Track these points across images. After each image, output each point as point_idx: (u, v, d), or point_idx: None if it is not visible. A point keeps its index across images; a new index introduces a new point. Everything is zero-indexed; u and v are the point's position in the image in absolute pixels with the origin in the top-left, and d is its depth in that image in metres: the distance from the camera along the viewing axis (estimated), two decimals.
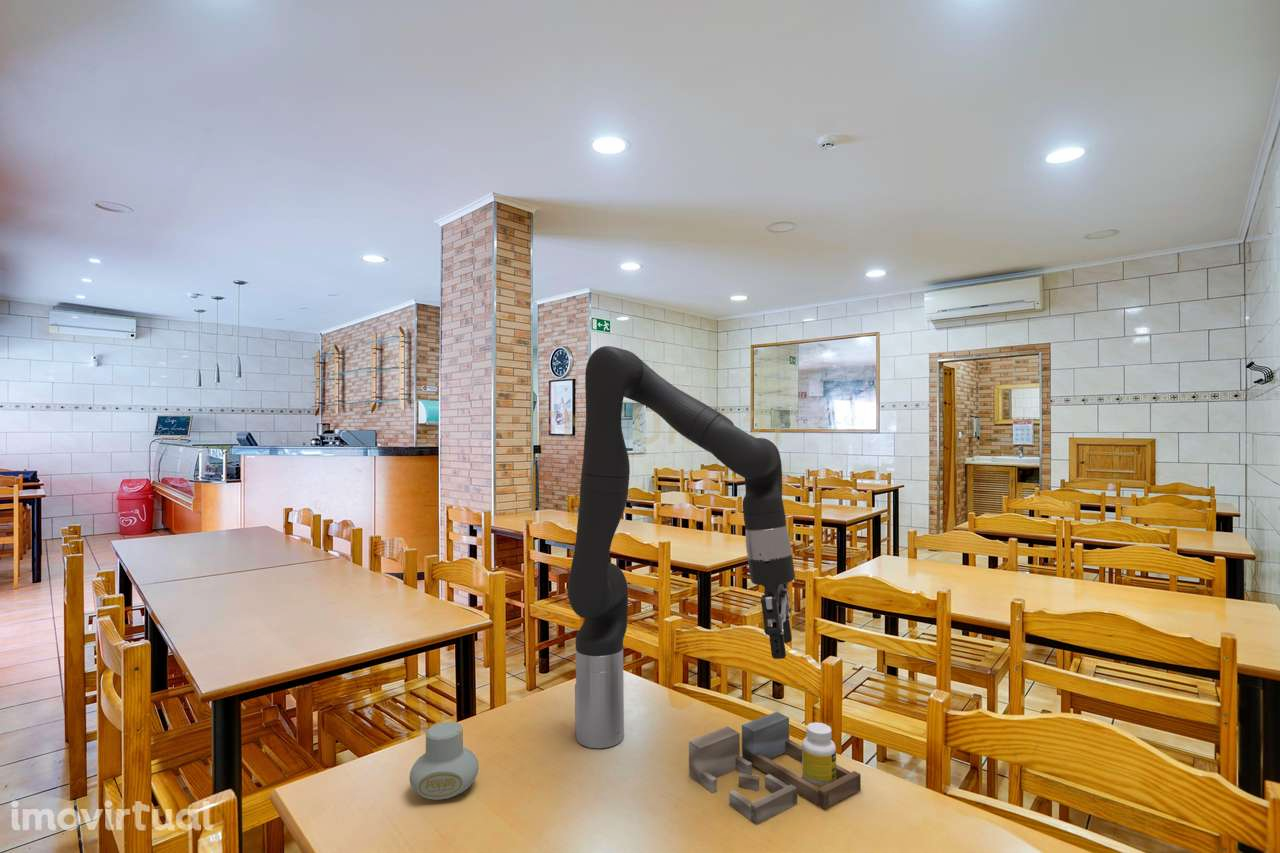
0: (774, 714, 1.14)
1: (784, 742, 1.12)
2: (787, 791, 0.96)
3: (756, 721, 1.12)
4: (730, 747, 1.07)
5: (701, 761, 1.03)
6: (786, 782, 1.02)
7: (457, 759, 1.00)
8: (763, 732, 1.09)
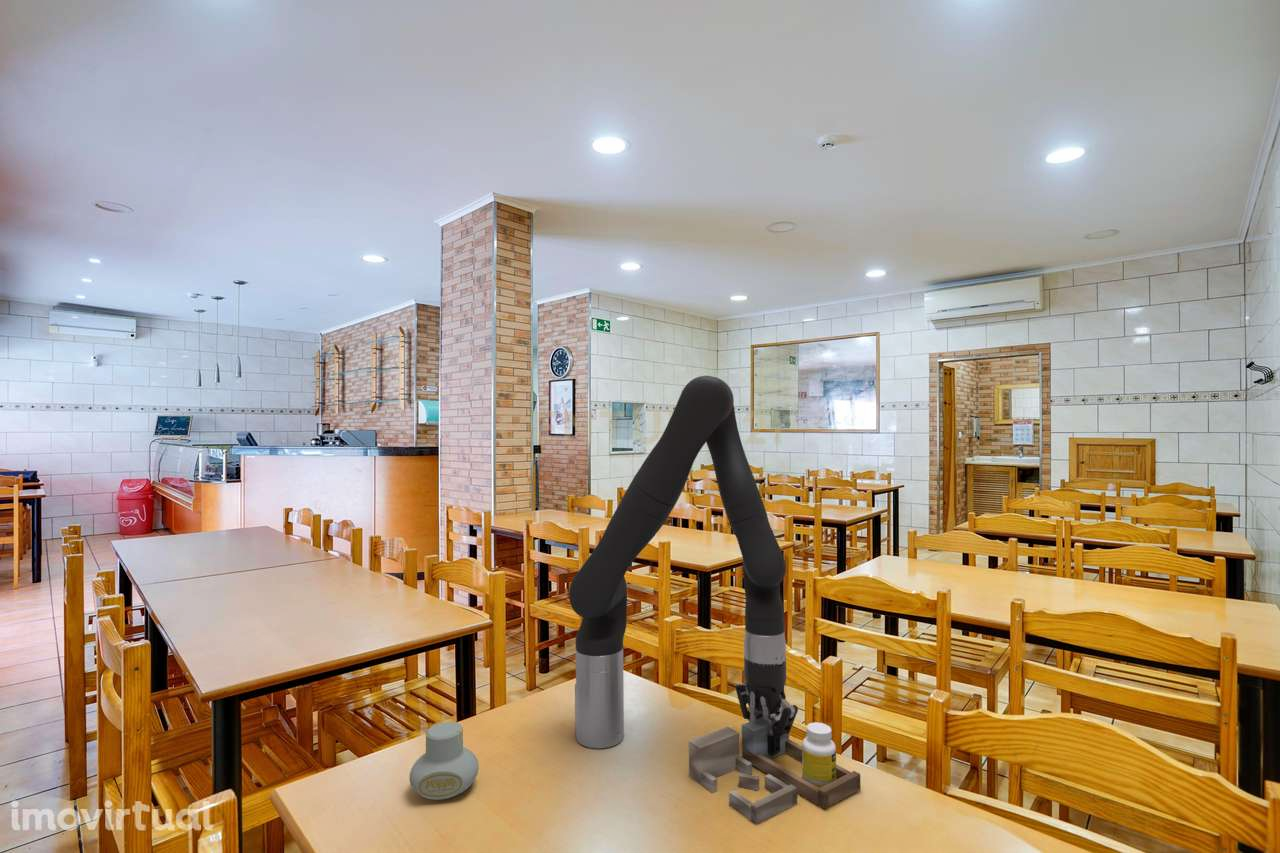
0: None
1: (784, 742, 1.12)
2: (787, 791, 0.96)
3: (756, 721, 1.12)
4: (730, 747, 1.07)
5: (701, 761, 1.03)
6: (786, 782, 1.02)
7: (457, 759, 1.00)
8: (763, 732, 1.09)
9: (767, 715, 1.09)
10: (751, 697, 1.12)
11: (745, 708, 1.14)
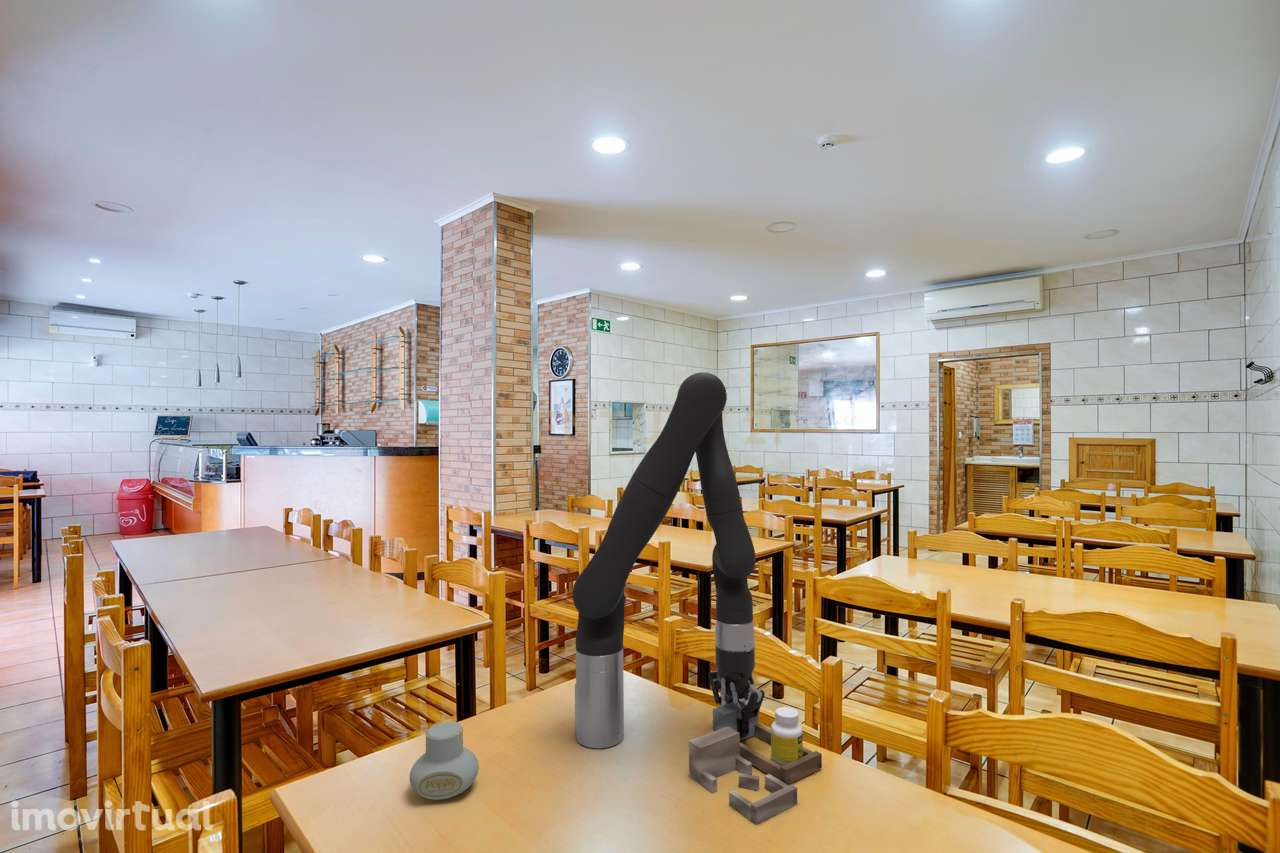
0: None
1: (753, 725, 1.19)
2: (787, 791, 0.96)
3: (727, 705, 1.18)
4: (730, 747, 1.07)
5: (701, 761, 1.03)
6: (752, 761, 1.08)
7: (457, 759, 1.00)
8: (732, 716, 1.16)
9: (736, 699, 1.15)
10: (722, 683, 1.18)
11: (717, 694, 1.21)
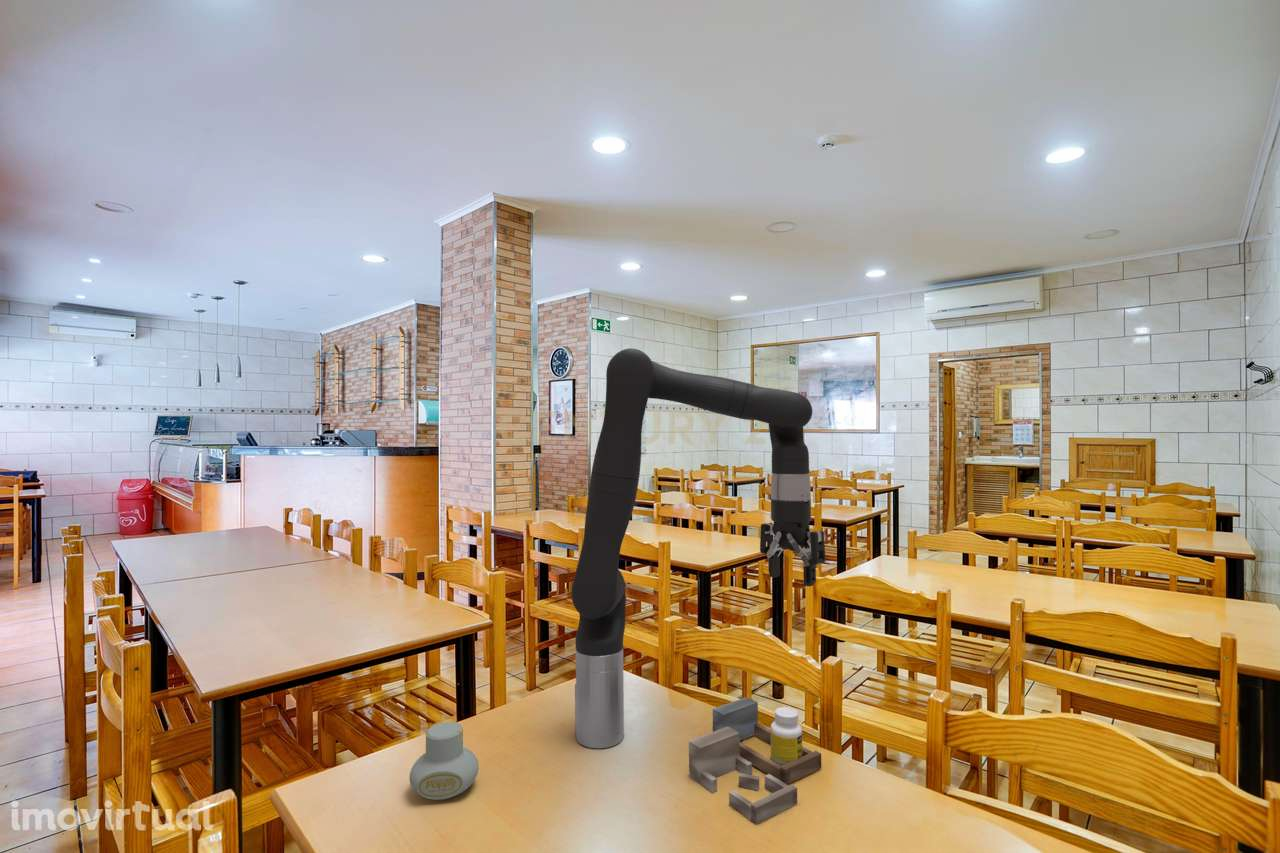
0: (744, 699, 1.21)
1: (753, 725, 1.19)
2: (787, 791, 0.96)
3: (727, 705, 1.18)
4: (730, 747, 1.07)
5: (701, 761, 1.03)
6: (752, 761, 1.08)
7: (457, 759, 1.00)
8: (732, 715, 1.16)
9: (797, 547, 1.15)
10: (777, 536, 1.19)
11: (764, 544, 1.23)
